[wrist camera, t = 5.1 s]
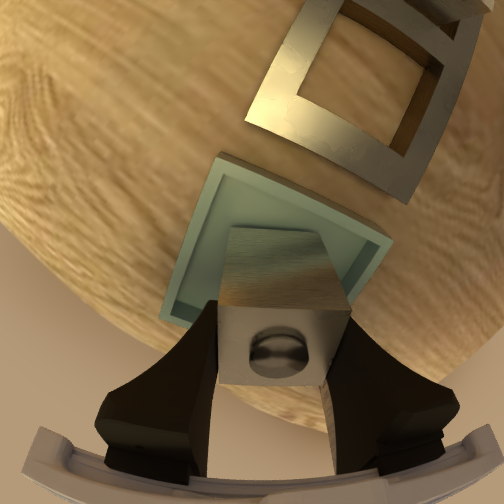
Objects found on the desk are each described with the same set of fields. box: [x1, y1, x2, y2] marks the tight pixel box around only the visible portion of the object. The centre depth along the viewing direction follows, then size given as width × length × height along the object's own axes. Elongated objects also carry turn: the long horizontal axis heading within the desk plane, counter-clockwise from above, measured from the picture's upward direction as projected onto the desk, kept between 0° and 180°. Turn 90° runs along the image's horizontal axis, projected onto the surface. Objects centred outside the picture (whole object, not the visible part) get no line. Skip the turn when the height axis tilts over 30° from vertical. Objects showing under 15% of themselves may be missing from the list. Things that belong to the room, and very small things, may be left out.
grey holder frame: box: [245, 0, 483, 205], centre depth 9 cm, size 9×18×2 cm, turn 156°
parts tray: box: [159, 152, 394, 329], centre depth 16 cm, size 10×10×2 cm
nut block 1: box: [218, 227, 352, 386], centre depth 13 cm, size 4×4×6 cm
